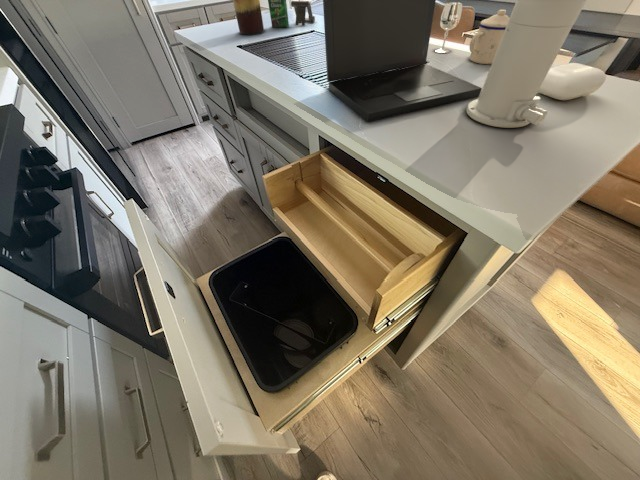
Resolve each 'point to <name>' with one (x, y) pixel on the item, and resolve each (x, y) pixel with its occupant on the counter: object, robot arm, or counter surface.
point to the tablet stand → (302, 11)
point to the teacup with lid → (488, 38)
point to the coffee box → (278, 13)
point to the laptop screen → (375, 35)
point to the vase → (249, 16)
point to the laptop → (401, 91)
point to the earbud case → (571, 81)
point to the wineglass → (449, 20)
